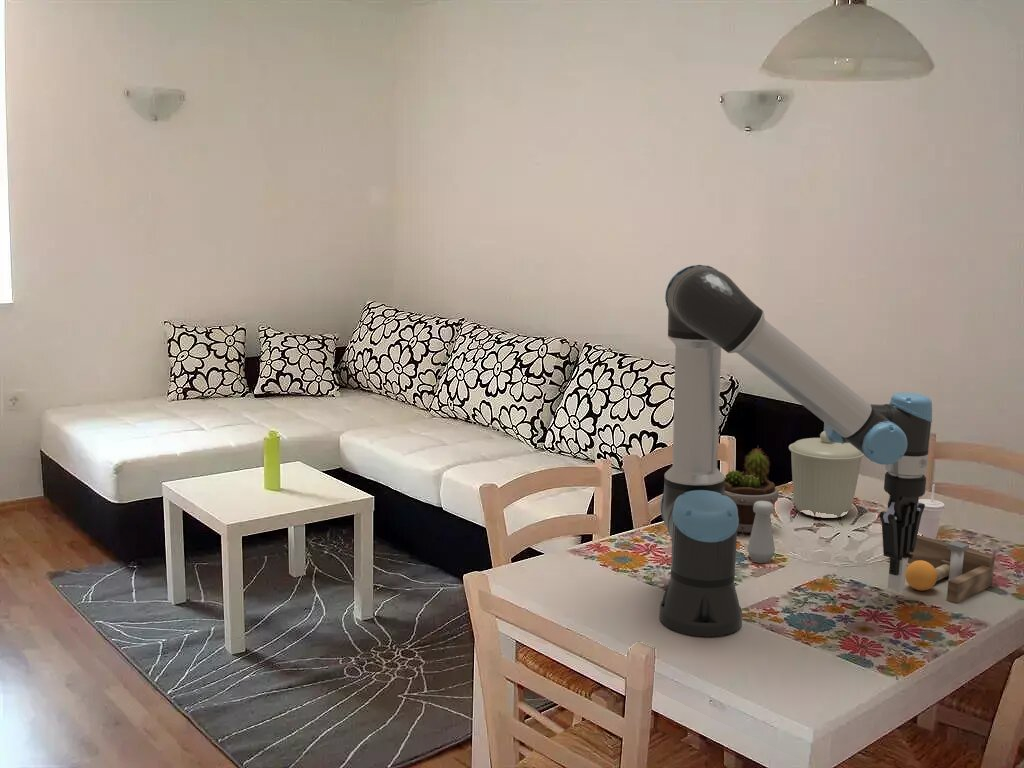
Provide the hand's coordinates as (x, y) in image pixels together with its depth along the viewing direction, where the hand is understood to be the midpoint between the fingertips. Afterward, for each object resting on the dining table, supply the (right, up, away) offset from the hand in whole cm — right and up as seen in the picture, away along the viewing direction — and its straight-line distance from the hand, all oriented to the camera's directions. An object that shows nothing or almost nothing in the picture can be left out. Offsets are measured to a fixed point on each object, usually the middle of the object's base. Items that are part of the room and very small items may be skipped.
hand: (895, 588), depth 207 cm
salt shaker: (-22, +2, +21) cm, 30 cm away
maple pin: (+9, 0, +7) cm, 12 cm away
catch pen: (+11, 0, +10) cm, 15 cm away
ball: (+7, +2, +4) cm, 8 cm away
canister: (+2, +8, +55) cm, 55 cm away
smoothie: (+19, +4, +33) cm, 38 cm away
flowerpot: (-21, +6, +41) cm, 46 cm away
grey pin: (+15, -1, +8) cm, 17 cm away
